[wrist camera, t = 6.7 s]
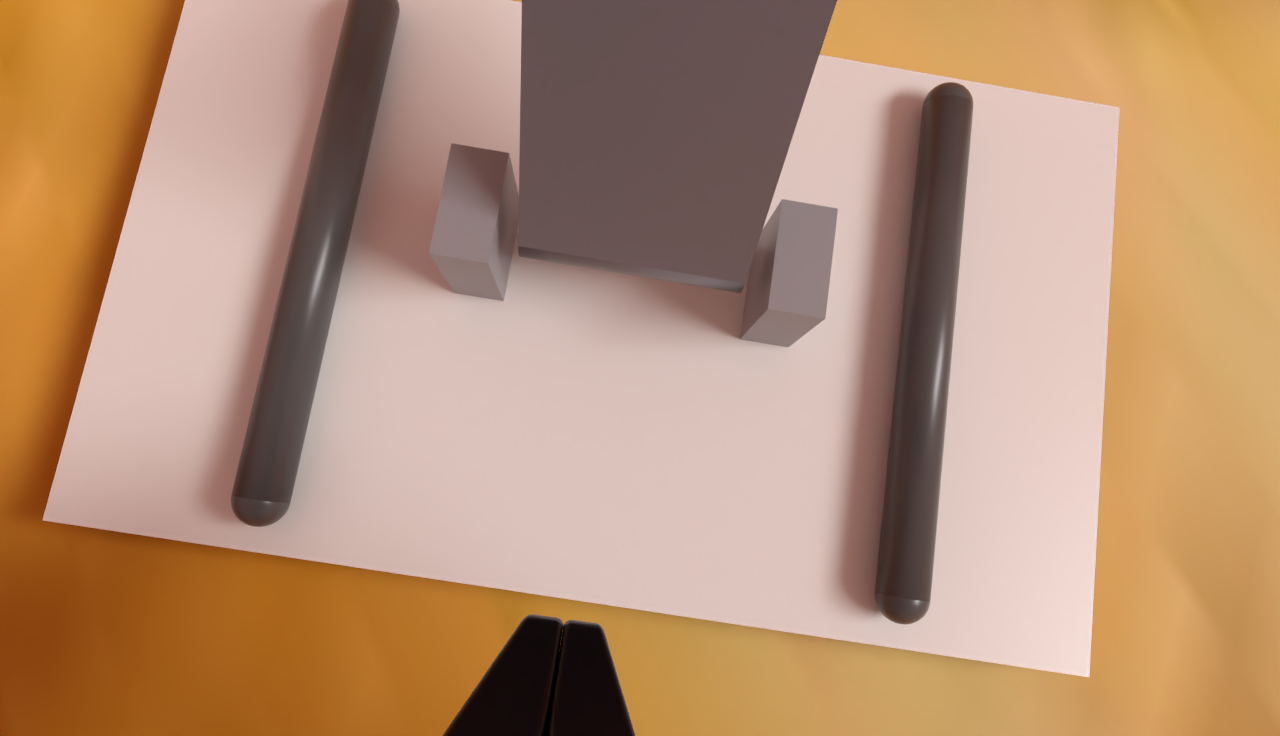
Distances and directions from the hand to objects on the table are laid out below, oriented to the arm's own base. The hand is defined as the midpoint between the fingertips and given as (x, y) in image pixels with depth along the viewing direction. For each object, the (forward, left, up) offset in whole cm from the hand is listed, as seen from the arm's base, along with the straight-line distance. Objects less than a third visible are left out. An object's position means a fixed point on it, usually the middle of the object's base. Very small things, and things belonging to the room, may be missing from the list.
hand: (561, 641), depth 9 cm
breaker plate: (+6, 0, -8) cm, 10 cm away
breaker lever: (+6, 0, -5) cm, 8 cm away
